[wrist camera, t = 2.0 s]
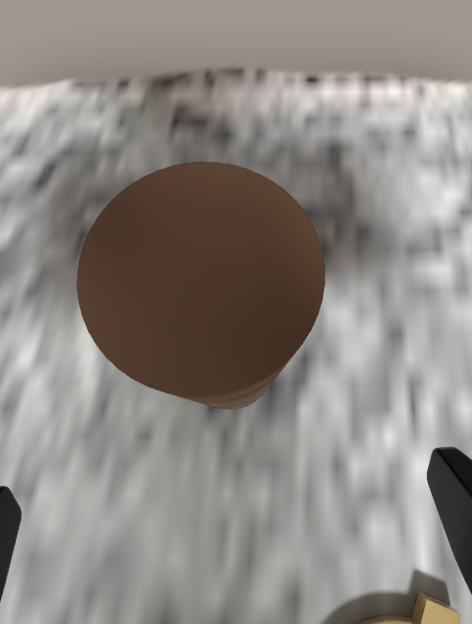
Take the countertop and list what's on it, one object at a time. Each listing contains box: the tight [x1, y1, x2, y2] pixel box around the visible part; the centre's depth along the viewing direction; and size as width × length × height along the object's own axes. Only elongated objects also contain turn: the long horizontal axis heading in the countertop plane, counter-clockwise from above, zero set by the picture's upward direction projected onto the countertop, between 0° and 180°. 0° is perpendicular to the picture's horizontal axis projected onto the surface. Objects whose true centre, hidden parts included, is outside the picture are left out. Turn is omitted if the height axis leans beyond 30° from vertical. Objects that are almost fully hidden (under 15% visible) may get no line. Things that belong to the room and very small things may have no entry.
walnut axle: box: [77, 162, 325, 409], centre depth 14 cm, size 4×4×13 cm
